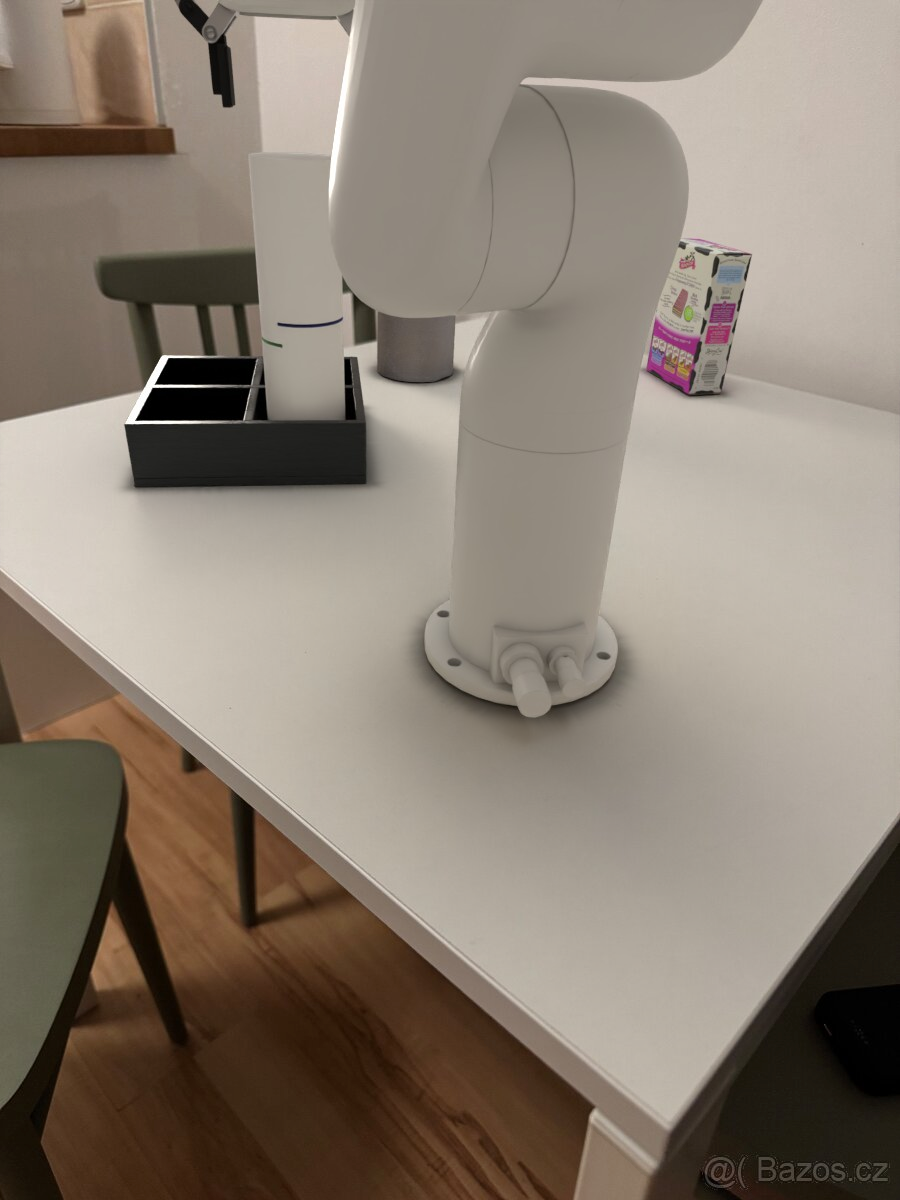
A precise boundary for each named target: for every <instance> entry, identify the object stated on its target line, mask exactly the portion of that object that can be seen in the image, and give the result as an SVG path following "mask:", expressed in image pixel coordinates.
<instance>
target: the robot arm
mask: <svg viewBox="0 0 900 1200" xmlns="http://www.w3.org/2000/svg"><path fill="white" fill-rule="evenodd" d="M173 1H174V2H175V4H176V6H177V8H178V11H179V12H180V15H182V17H183V18H185V20H186V21H187V22H188V23H189V24H190V25H191V26H192V27H193V28H194V30H196V32H197V33H199V35H200V36H201V37H202V38H203V40H205V42H206V43H207V48H208V49H207V50H208V58H209V59H208V60H209V67H210V68H209V69H210V78H211V88H212V94H213V95H214V96H215V95H216V96H220V97H221V104H222V108H224V109H225V108H226V109H227V108H228V109H231V108H233V107H234V106H235V107H236V95H235V83H234V72H233V71H234V70H233V60H232V59H233V58H232V48H231V47H230V46H229V45H228V41H227V40H228V39H227V34H228V33H229V31H230V29H231V28H232V27H233V25H234V23H235V22H236V21H237V19H238V18H239V16H245V17H256V18H258V17H259V18H277V19H293V20H294V19H297V20H320V21H335V20H337V21H338V23H339V24H340V26H341V27H342V29H343V30H344V31H345V33H346V34H347V35H348V37H349V39H348V45H347V52H346V58H345V65H344V72H343V78H342V85H341V90H340V98H339V103H338V110H337V115H336V122H335V132H334V137H333V144H332V152H331V155H332V158H331V167H330V179H329V226H330V235H331V241H332V246H333V251H334V255H335V258H336V262H337V265H338V267H339V269H340V272H341V274H342V279H343V280H344V282H345V283H346V285H347V286H348V288H349V289H350V290H351V292H352V293H353V294H354V295H355V296H356V297H357V298H358V300H360V301H361V302H362V303H364V304H365V305H366V306H368V307H369V308H371V309H372V310H374V311H377V312H378V311H379V312H381V313H384V314H387V315H390V316H396V317H402V318H432V317H444V316H454V315H456V316H462V315H472V314H482V313H489V315H488V316H487V318H486V320H485V323H484V324H483V326H482V328H481V330H480V332H479V334H478V336H477V338H476V340H475V342H474V345H473V347H472V349H471V351H470V354H469V356H468V359H467V363H466V365H465V369H464V372H463V377H462V381H461V389H460V396H459V397H460V398H459V414H458V429H457V430H458V431H457V433H458V434H457V452H456V453H457V454H456V469H455V470H456V472H455V475H456V476H455V489H454V490H455V491H454V511H453V533H452V550H451V551H452V552H451V574H450V591H449V599H447V600H446V601H444V602H442V603H441V604H439V605H438V606H437V607H436V608H435V609H434V610H433V611H432V612H431V614H430V615H429V617H428V619H427V621H426V623H425V628H424V637H423V639H424V651H425V654H426V657H427V661H428V662H429V663H430V665H431V666H432V668H433V669H434V670H435V672H436V673H438V674H439V676H440V677H442V678H443V679H444V680H445V681H446V682H448V683H449V684H451V685H452V686H454V687H455V688H457V689H459V690H460V691H462V692H464V693H467V694H469V695H471V696H473V697H475V698H478V699H481V700H485V701H489V702H492V703H495V704H501V705H506V706H507V705H508V706H513V707H517V708H518V710H519V712H520V714H521V715H523V716H525V717H526V718H533V719H535V718H539V717H542V716H544V715H545V714H546V713H549V711H550V710H551V708H552V706H556V705H557V706H558V705H562V704H566V703H571V702H573V701H574V702H575V701H577V700H579V699H582V698H585V697H587V696H589V695H591V694H592V693H594V692H596V691H597V690H599V689H600V688H602V686H604V684H606V683H607V681H608V680H609V679H610V678H611V676H612V675H613V672H614V670H615V668H616V664H617V658H618V653H619V646H618V639H617V637H616V634H615V631H614V630H613V629H612V627H611V625H610V624H609V623H608V621H607V620H606V619H605V618H604V617H603V616H601V615H600V610H601V604H602V597H603V591H604V586H605V579H606V572H607V566H608V561H609V560H608V559H609V555H610V554H609V553H610V548H611V542H612V536H613V530H614V524H615V518H616V511H617V505H618V499H619V493H620V487H621V482H622V481H621V480H622V475H623V474H622V473H623V469H624V468H623V467H624V462H625V456H626V450H627V443H628V437H629V434H630V428H631V424H632V418H633V417H632V416H633V411H634V405H635V399H636V394H637V388H638V384H639V383H638V382H639V378H640V373H641V368H642V363H643V358H644V354H645V349H646V345H647V341H648V338H649V335H650V331H651V327H652V323H653V320H654V318H655V315H656V310H657V305H658V302H659V299H660V296H661V294H662V291H663V288H664V285H665V283H666V280H667V277H668V275H669V272H670V269H671V266H672V264H673V261H674V258H675V255H676V252H677V249H678V246H679V243H680V240H681V239H682V235H683V231H684V227H685V224H686V219H687V213H688V207H689V193H690V182H689V181H690V180H689V170H688V165H687V164H688V163H687V160H686V156H685V152H684V149H683V147H682V144H681V142H680V140H679V138H678V137H677V135H676V132H675V130H674V129H673V128H672V127H671V125H670V123H668V121H667V120H666V119H665V118H664V117H663V116H662V115H661V114H660V113H659V112H657V111H656V110H655V109H653V108H652V107H651V106H650V105H648V104H647V103H645V102H643V101H641V100H640V99H637V98H635V97H632V96H629V95H626V94H624V93H620V92H618V91H613V90H608V89H607V90H606V89H601V88H596V87H595V88H594V87H586V86H585V87H584V86H568V85H547V84H546V85H544V84H524V83H522V82H523V81H524V80H526V79H527V78H533V79H535V78H536V79H565V80H580V81H581V80H583V81H597V82H598V81H600V82H615V83H618V82H619V83H621V82H622V83H658V82H669V81H671V82H672V81H680V80H685V79H688V78H691V77H695V76H699V75H701V74H703V73H705V72H707V71H708V70H710V69H711V68H713V67H714V66H715V65H717V64H718V63H720V61H722V60H723V59H724V58H725V57H726V56H728V54H730V52H732V50H733V49H734V48H735V46H736V45H737V44H738V42H739V41H740V40H741V38H742V37H743V36H744V34H745V32H746V31H747V29H748V28H749V26H750V25H751V22H752V21H753V19H754V18H755V16H756V15H757V13H758V11H759V9H760V7H761V5H762V3H763V2H764V0H216V1H217V5H216V6H215V8H214V9H213V11H212V12H211V14H210V15H207V14H206V12H205V11H204V10H203V9H202V8H201V7H200V6H199V5H198V4H197V2H196V0H173Z"/></svg>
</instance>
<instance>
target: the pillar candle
mask: <svg viewBox="0 0 900 1200" xmlns="http://www.w3.org/2000/svg"><path fill="white" fill-rule="evenodd" d="M376 317H377V321H376V324H377V325H376V326H377V327H376V328H377V330H376V336H377V337H376V360H377V361H376V370H377V372H378V373H379V375H381V376H382V377H385V378H388V379H391V380H395V381H400V382H407V383H427V382H429V383H431V382H437V381H440V380H442V379H444V378H446V377H451V375H453V373H454V359H455V337H456V320H457V319H456V318H457V315H454V316H444V317H432V318H402V317H396V316H390V315H387V314H384V313H381V312H379V311H377V315H376Z"/></svg>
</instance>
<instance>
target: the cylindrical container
mask: <svg viewBox="0 0 900 1200" xmlns="http://www.w3.org/2000/svg"><path fill="white" fill-rule="evenodd" d="M247 157H248V171H249V184H250V197H251V198H250V199H251V212H252V225H253V238H254V251H255V252H254V253H255V267H256V278H257V291H258V292H257V293H258V307H259V318H260V319H259V320H260V331H261V333H260V335H261V346H262V356H263V361H264V374H265V388H266V402H267V415H268V420H345V382H344V357H345V341H344V339H345V338H344V337H345V336H344V335H345V334H344V300H343V296H344V295H343V276H342V274H341V272H340V269H339V267H338V265H337V262H336V258H335V255H334V251H333V246H332V241H331V235H330V226H329V179H330V167H331V158H332V154H324V153H315V152H314V153H313V152H297V151H296V152H295V151H260V152H251V153H248V154H247Z"/></svg>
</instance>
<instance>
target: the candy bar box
mask: <svg viewBox="0 0 900 1200" xmlns="http://www.w3.org/2000/svg"><path fill="white" fill-rule="evenodd" d="M752 256H753V253H751V252H746V251H743V250H740V249H736V248H734V247H730V246H726V245H722V244H719V243H717V242H713V241H708V240H706V239H701V238H681V240H680V243H679V246H678V249H677V252H676V255H675V258H674V261H673V264H672V266H671V269H670V272H669V275H668V277H667V280H666V283H665V285H664V288H663V291H662V294H661V296H660V299H659V302H658V305H657V308H656V311H655V315H654V323H653V328H652V334H651V339H650V345H649V346H650V347H649V351H648V358H647V363H646V368H645V369H646V371H647V372H649V373H651V374H653V376H656V377H657V378H659V379H660V380H662V381H664V382H666V383H668V384H669V385H671V386H673V387H674V388H676V389H678V390H680V391H682V392H683V393H685V394H687V395H689V396H696V395H697V396H699V395H716V394H721V393H722V392H723V387H724V382H725V377H726V374H727V369H728V364H729V360H730V355H731V350H732V346H733V341H734V338H735V332H736V327H737V324H738V323H737V322H738V319H739V315H740V310H741V306H742V302H743V296H744V292H745V287H746V283H747V278H748V275H749V271H750V265H751V261H752Z"/></svg>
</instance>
